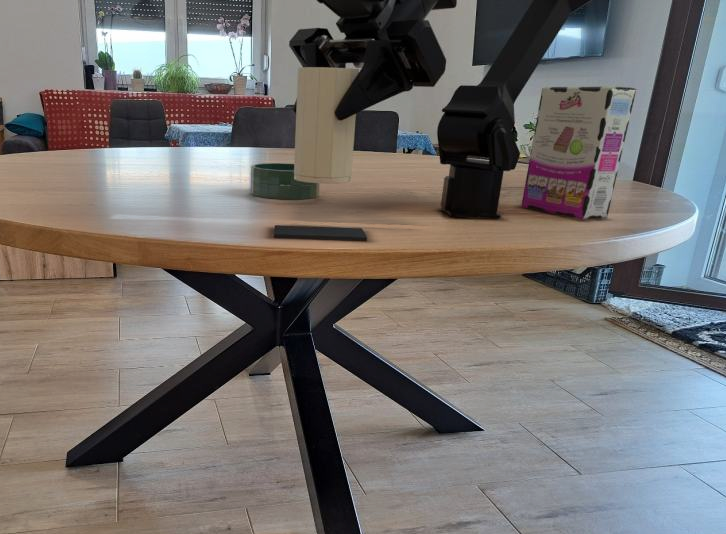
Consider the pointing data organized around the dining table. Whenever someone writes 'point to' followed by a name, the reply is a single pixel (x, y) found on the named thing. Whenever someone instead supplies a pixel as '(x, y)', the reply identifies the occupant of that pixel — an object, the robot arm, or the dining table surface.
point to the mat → (319, 233)
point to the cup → (323, 126)
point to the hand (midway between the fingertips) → (315, 115)
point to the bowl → (280, 182)
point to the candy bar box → (577, 150)
